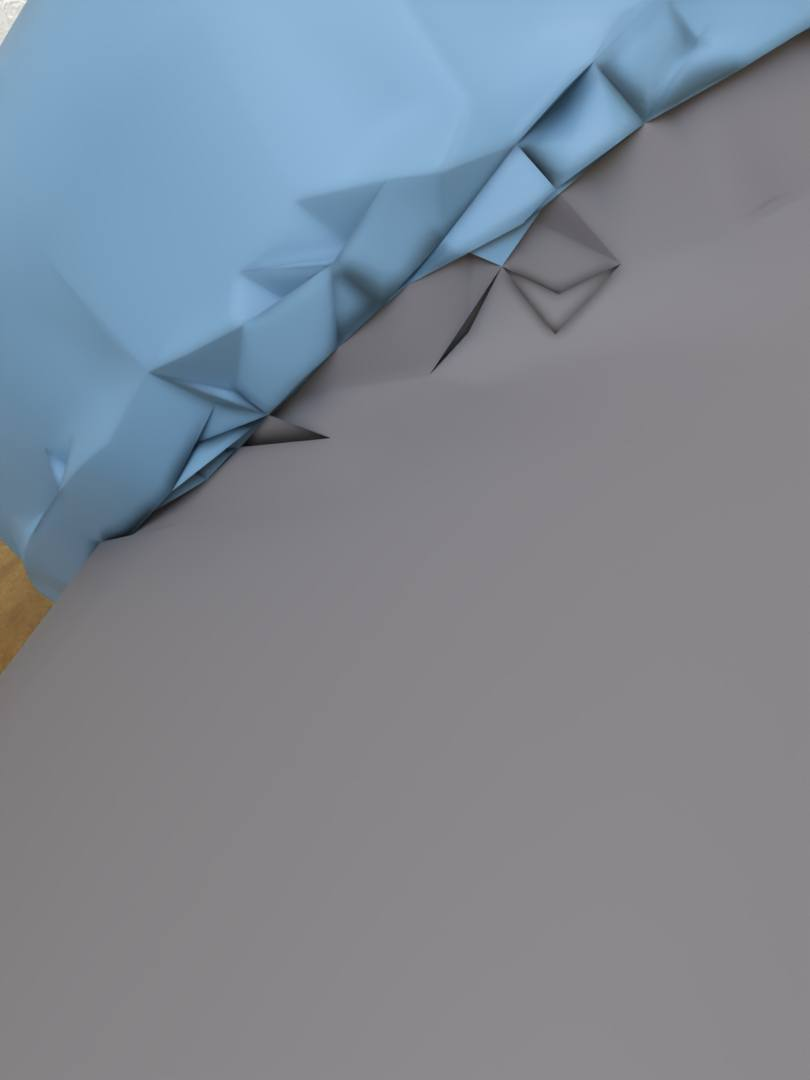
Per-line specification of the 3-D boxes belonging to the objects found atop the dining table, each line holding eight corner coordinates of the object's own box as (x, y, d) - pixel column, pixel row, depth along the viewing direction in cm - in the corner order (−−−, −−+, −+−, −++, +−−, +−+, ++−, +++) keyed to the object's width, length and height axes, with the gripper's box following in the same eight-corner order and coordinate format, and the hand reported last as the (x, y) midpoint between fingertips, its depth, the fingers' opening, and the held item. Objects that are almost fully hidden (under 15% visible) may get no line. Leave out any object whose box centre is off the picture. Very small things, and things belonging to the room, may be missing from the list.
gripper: (562, 1169, 18) (294, 842, 40) (997, 821, 22) (537, 698, 45) (404, 834, 17) (219, 688, 40) (885, 536, 21) (473, 555, 44)
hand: (387, 693), depth 42 cm, fingers closed
